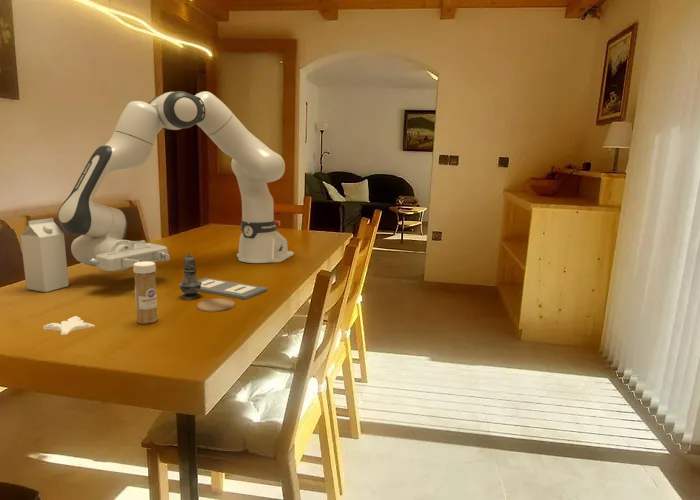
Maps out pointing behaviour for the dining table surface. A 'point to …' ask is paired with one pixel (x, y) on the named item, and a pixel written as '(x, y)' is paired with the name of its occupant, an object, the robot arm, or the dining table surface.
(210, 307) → the coaster
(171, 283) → the dining table surface
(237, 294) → the label board
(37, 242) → the milk carton
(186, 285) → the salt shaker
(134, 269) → the sprinkles bottle
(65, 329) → the acanthus leaf ornament
